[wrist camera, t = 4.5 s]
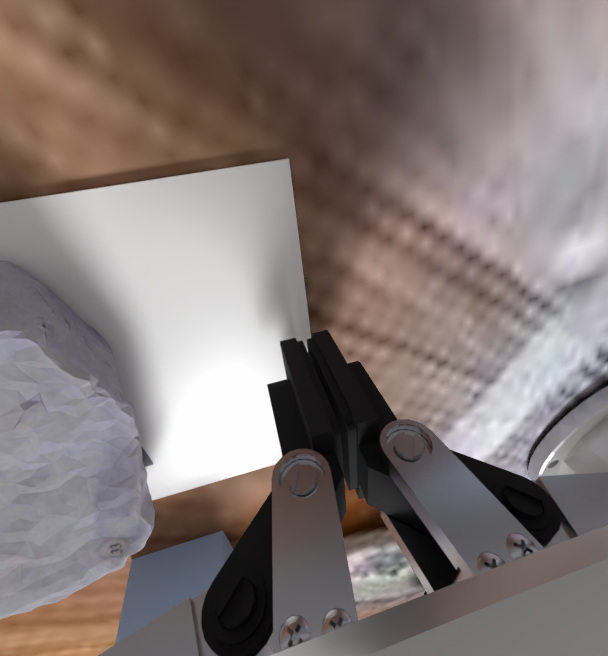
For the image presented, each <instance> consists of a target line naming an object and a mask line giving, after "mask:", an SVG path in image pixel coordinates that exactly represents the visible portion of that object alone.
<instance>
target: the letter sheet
mask: <svg viewBox="0 0 608 656" xmlns="http://www.w3.org/2000/svg"><path fill="white" fill-rule="evenodd" d="M0 261H8V262H11V263H13V264H15V265H17V266H19V267H21V268H22V269H24V270H25V271H26V272H28V273H29V274H31V275H32V276H33V277H35V278H36V279H37V280H38V281H40V282H41V283H42V284H43V285H45V286H46V287H47V288H49V289H50V290H51V291H52V292H53V293H54V294H55V295H56V296H57V297H58V298H59V299H60V300H62V301H63V302H64V303H65V304H66V305H67V306H68V307H69V308H70V309H71V310H72V311H73V312H74V313H75V314H76V315H77V316H78V317H79V318H80V319H81V320H83V321H84V322H85V323H86V324H87V325H88V326H90V327H92V328H94V329H95V330H96V331H97V332H98V333H99V334H100V335H101V336H102V337H103V338H104V340H105V341H106V342H107V344H108V345H109V347H110V348H111V351H112V353H113V357H114V365H115V369H116V371H117V373H118V375H119V377H120V386H121V390H122V391H123V393H124V395H125V397H126V399H127V400H128V402H129V403H130V404H131V405H132V407H133V410H134V414H135V419H136V424H137V428H138V431H139V434H140V437H141V440H142V446H141V448H142V461H143V464H144V467H145V469H146V471H147V484H148V488H149V492H150V495H151V498H152V500H156V499H159V498H163V497H166V496H169V495H173V494H176V493H179V492H183V491H186V490H190V489H193V488H196V487H200V486H203V485H207V484H210V483H213V482H217V481H220V480H223V479H227V478H230V477H234V476H237V475H240V474H244V473H247V472H250V471H254V470H257V469H261V468H264V467H267V466H271V465H274V464H276V463H277V462H278V461H279V460H280V459H281V458H282V452H281V447H280V443H279V438H278V433H277V429H276V424H275V419H274V415H273V410H272V406H271V401H270V396H269V392H268V387H267V384H270V383H274V382H278V381H282V380H286V379H287V377H286V372H285V367H284V362H283V357H282V351H281V346H280V341H283V340H287V339H291V338H296V340H297V341H301V340H302V341H303V343H304V345H305V347H306V349H307V352H308V348H307V339H310V338H311V330H310V322H309V314H308V306H307V298H306V290H305V282H304V274H303V266H302V258H301V250H300V242H299V234H298V226H297V218H296V210H295V202H294V194H293V186H292V179H291V171H290V163H289V159H288V158H287V159H281V160H274V161H268V162H261V163H255V164H248V165H242V166H235V167H229V168H222V169H216V170H209V171H203V172H196V173H190V174H183V175H177V176H170V177H164V178H157V179H151V180H144V181H138V182H131V183H125V184H118V185H112V186H105V187H99V188H92V189H86V190H79V191H73V192H66V193H60V194H53V195H47V196H40V197H34V198H27V199H21V200H14V201H8V202H1V203H0Z"/></svg>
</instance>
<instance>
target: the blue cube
mask: <svg viewBox="0 0 608 656" xmlns="http://www.w3.org/2000/svg"><path fill="white" fill-rule="evenodd" d="M233 550H234V549H233V548H232V546H231V544H230V542H229V540H228V539H227V537H226V535H225V533H224V532H223V531H219V532H216V533H213V534H210V535H207V536H204V537H201V538H197V539H194V540H191V541H188V542H185V543H182V544H179V545H175V546H172V547H169V548H166V549H163V550H160V551H157V552H153V553H150V554H147V555H144V556H141V557H138V558H135V559H132V562H131V567H130V572H129V577H128V582H127V587H126V592H125V597H124V603H123V608H122V613H121V618H120V623H119V628H118V633H117V638H116V643H115V645H116V644H117V643H119V642H120V641H122V640H123V639H125V638H127V637H128V636H130V635H131V634H133V633H134V632H136V631H138V630H139V629H141V628H142V627H144V626H145V625H147V624H149V623H150V622H152V621H153V620H155V619H156V618H158V617H159V616H161V615H163V614H164V613H166V612H167V611H169V610H170V609H172V608H174V607H175V606H177V605H178V604H180V603H181V602H183V601H185V600H186V599H188V598H189V597H190V598H191V600H193V599H194V598H196V597H197V596H199V595H201V594H202V593H204V592H205V591H207V590H208V589H209V588H210V586H211V584H212V582H213V580H214V579H215V577H216V576H217V574H218V573H219V571H220V570H221V568H222V567H223V565H224V563H225V562H226V560H227V559H228V557H229V556H230V554H231V553H232V551H233Z"/></svg>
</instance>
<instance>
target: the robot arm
mask: <svg viewBox="0 0 608 656" xmlns="http://www.w3.org/2000/svg"><path fill="white" fill-rule="evenodd" d="M280 346H281V351H282V357H283V362H284V367H285V372H286V377H287V379H286V380H282V381H278V382H274V383H270V384H267V387H268V392H269V396H270V401H271V406H272V410H273V415H274V419H275V424H276V429H277V433H278V438H279V443H280V447H281V452H282V458H281V459H280V460H279V461H278V462H277V463H276V466H275V468H274V470H273V474H272V492H271V493H270V495H269V496H268V498H267V499H266V501H265V502H264V504H263V505H262V507H261V508H260V510H259V511H258V513H257V514H256V516H255V518H254V519H253V521H252V522H251V524H250V525H249V527H248V528H247V530H246V531H245V533H244V534H243V536H242V537H241V539H240V540H239V542H238V544H237V545H236V547H235V548H234V550H233V551H232V553H231V554H230V556H229V557H228V559H227V560H226V562H225V563H224V565H223V567H222V568H221V570H220V571H219V573H218V574H217V576H216V577H215V579H214V580H213V582H212V584H211V586H210V588H209V589H208V590H207V591H205V592H204V593H202V594H201V595H199V596H197V597H196V598H194V599H193V600H191V598H190V597H189V598H188V599H186V600H185V601H183V602H181V603H180V604H178V605H177V606H175V607H174V608H172V609H170V610H169V611H167V612H166V613H164V614H163V615H161V616H159V617H158V618H156V619H155V620H153V621H152V622H150V623H149V624H147V625H145V626H144V627H142V628H141V629H139V630H138V631H136V632H134V633H133V634H131V635H130V636H128V637H127V638H125V639H123V640H122V641H120V642H119V643H117V644H116V645H114V646H113V647H111V648H109V649H108V650H106V651H105V652H103V653H102V654H100V655H98V656H608V385H607V386H605V387H604V388H602V389H600V390H599V391H597V392H596V393H594V394H593V395H591V396H590V397H588V398H587V399H585V400H584V401H583V402H581V403H580V404H579V405H578V406H576V407H575V408H574V409H572V410H571V411H570V412H569V413H568V414H567V415H565V416H564V417H563V418H562V419H561V420H560V421H559V422H558V423H557V424H556V425H555V426H554V427H553V428H552V429H551V430H550V431H549V432H548V433H547V434H546V435H545V437H544V438H543V439H542V441H541V442H540V443H539V445H538V446H537V447H536V449H535V451H534V453H533V455H532V456H531V459H530V462H529V465H528V475H529V477H530V479H531V480H532V481H531V480H529V479H527V478H525V477H522V476H520V475H517V474H514V473H512V472H509V471H506V470H504V469H501V468H498V467H495V466H493V465H490V464H487V463H485V462H482V461H479V460H476V459H474V458H471V457H468V456H465V455H463V454H460V453H457V452H455V451H452V450H450V449H449V448H448V447H447V446H446V445H445V444H444V443H443V442H442V441H441V440H440V439H439V438H438V437H437V436H436V435H435V434H434V433H433V432H432V431H431V430H430V429H429V428H427V427H426V426H425V425H423V424H421V423H419V422H417V421H413V420H408V419H399V420H397V418H396V417H395V415H394V414H393V412H392V411H391V409H390V408H389V406H388V405H387V403H386V401H385V400H384V398H383V397H382V395H381V394H380V392H379V391H378V389H377V388H376V386H375V384H374V383H373V381H372V380H371V378H370V377H369V375H368V374H367V372H366V371H365V369H364V367H363V366H362V365H361V363H360V362H358V361H356V362H352V363H348V364H347V362H346V361H345V359H344V357H343V355H342V354H341V352H340V350H339V349H338V347H337V345H336V344H335V342H334V340H333V338H332V337H331V335H330V333H329V332H328V330H325V331H321V332H317V333H313V334H311V338H310V339H307V348H308V352H307V349H306V347H305V345H304V343H303V341H302V340H301V341H297V340H296V338H291V339H287V340H283V341H280ZM344 478H345V481H346V483H347V486H348V488H349V490H352V489H355V490H356V492H357V495H358V497H359V499H361V498H364V497H365V499H366V501H367V504H368V505H370V506H372V507H374V508H376V509H378V511H379V513H380V515H381V517H382V519H383V521H384V522H385V524H386V526H387V527H388V529H389V531H390V532H391V534H392V536H393V537H394V539H395V541H396V542H397V544H398V546H399V547H400V549H401V551H402V552H403V554H404V556H405V557H406V559H407V561H408V562H409V564H410V565H411V567H412V569H413V570H414V572H415V574H416V575H417V577H418V579H419V580H420V582H421V584H422V585H423V587H424V589H425V590H426V592H427V594H426V595H424V596H421V597H419V598H416V599H413V600H411V601H408V602H406V603H403V604H401V605H398V606H395V607H393V608H390V609H388V610H385V611H383V612H380V613H377V614H375V615H372V616H370V617H367V618H365V619H362V620H360V621H358V616H357V611H356V605H355V600H354V594H353V589H352V583H351V578H350V572H349V567H348V561H347V556H346V551H345V545H344V540H343V534H342V529H341V522H342V520H343V517H344V515H345V513H346V500H345V485H344Z"/></svg>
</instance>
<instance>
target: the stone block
mask: <svg viewBox="0 0 608 656" xmlns="http://www.w3.org/2000/svg"><path fill="white" fill-rule="evenodd" d="M141 446H142V440H141V437H140V434H139V431H138V428H137V424H136V419H135V414H134V410H133V407H132V405H131V404H130V403H129V402H128V400H127V399H126V397H125V395H124V393H123V391H122V390H121V386H120V377H119V375H118V373H117V371H116V369H115V365H114V357H113V353H112V351H111V348H110V347H109V345H108V344H107V342H106V341H105V340H104V338H103V337H102V336H101V335H100V334H99V333H98V332H97V331H96V330H95V329H94V328H92V327H90V326H88V325H87V324H86V323H85V322H84V321H83V320H81V319H80V318H79V317H78V316H77V315H76V314H75V313H74V312H73V311H72V310H71V309H70V308H69V307H68V306H67V305H66V304H65V303H64V302H63V301H62V300H60V299H59V298H58V297H57V296H56V295H55V294H54V293H53V292H52V291H51V290H50V289H49V288H47V287H46V286H45V285H43V284H42V283H41V282H40V281H38V280H37V279H36V278H35V277H33V276H32V275H31V274H29V273H28V272H26V271H25V270H24V269H22V268H21V267H19V266H17V265H15V264H13V263H11V262H8V261H0V619H3V618H5V617H8V616H11V615H14V614H19V613H24V612H29V611H31V610H33V609H34V608H36V607H38V606H41V605H45V604H50V603H55V602H59V601H61V600H62V599H64V598H66V597H67V596H69V595H71V594H72V593H74V592H76V591H78V590H80V589H82V588H84V587H86V586H88V585H89V584H91V583H93V582H94V581H96V580H98V579H99V578H101V577H103V576H104V575H106V574H108V573H111V572H114V571H116V570H118V569H120V568H122V567H124V565H125V562H126V560H127V557H128V556H130V555H133V554H135V553H137V552H139V551H140V550H141V549H142V548H143V547H144V546H145V544H146V541H147V539H148V538H149V536H150V534H151V533H152V530H153V528H154V519H155V509H154V507H153V503H152V498H151V495H150V492H149V488H148V484H147V471H146V469H145V467H144V464H143V461H142V448H141Z"/></svg>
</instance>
